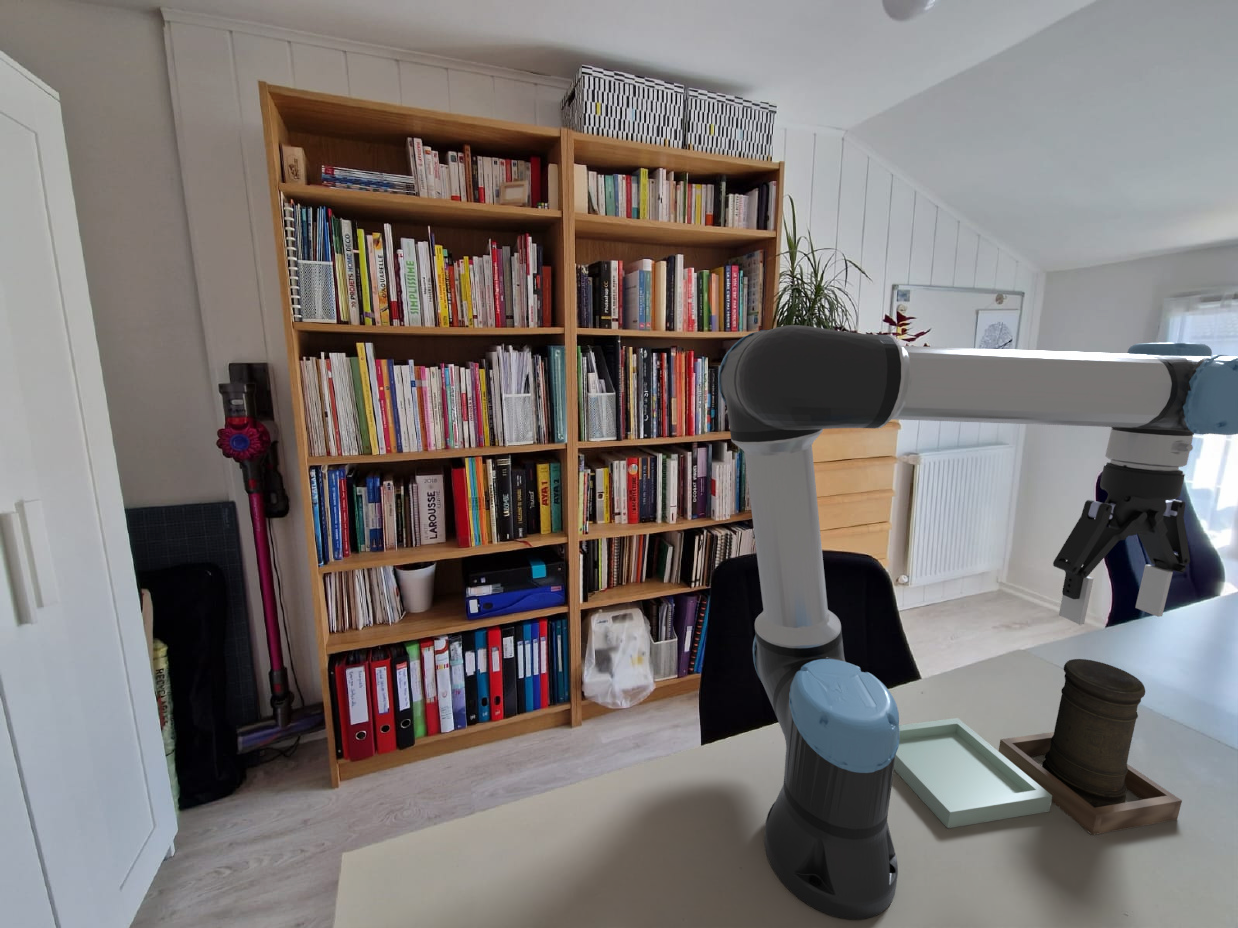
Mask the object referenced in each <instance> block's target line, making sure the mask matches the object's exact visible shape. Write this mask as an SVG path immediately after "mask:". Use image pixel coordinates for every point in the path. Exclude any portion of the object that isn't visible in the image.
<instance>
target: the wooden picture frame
mask: <svg viewBox="0 0 1238 928" xmlns="http://www.w3.org/2000/svg"><path fill="white" fill-rule="evenodd" d="M1053 735H1054V731H1053V732H1052V731H1051V732H1044V733H1038V734H1030V735H1021V736H1014V737H1007V738H1000V739H999V744H998V745H999V746H998V751H999V752H1000V753H1001V754H1002V755H1003V756H1005V757H1006V758H1007V759H1008V760H1010V761H1011V762H1012V763H1013V764H1014V765H1016V766H1017V767H1018V768H1019V769H1020V770H1022V771H1023V772H1024V773H1025V774H1027V775H1028V776H1029V777H1030V778H1031V779H1033V780H1034V781H1035V782H1036V783H1038V784H1039V785H1040V786H1041V787H1042V788H1044V789H1045V790H1046V791H1047V792H1048V793H1050V794H1051V795H1052V800H1051V803H1053V804H1054V805H1056V806H1057V807H1058V808H1059V809H1060V810H1061V811H1063V812H1064V813H1065V814H1066V815H1067V816H1069V817H1070V819H1072V820H1074V821H1075V822H1076V823H1077V824H1078V825H1080V826H1081V827H1082V828H1083V829H1084V830H1086V831H1087V832H1088V833H1089V834H1090V835H1092V836H1093V835H1098V834H1099V835H1100V834H1104V833H1109V832H1115V831H1120V830H1127V829H1131V828H1137V827H1143V826H1148V825H1154V824H1155V825H1156V824H1161V823H1166V822H1170V821H1176V820H1178V818H1179V814H1180V809H1181V806H1182V803H1183V800H1182V799H1181V798H1179V797H1178V796H1176V795H1175V794H1173V793H1172V792H1170V791H1169V790H1167V789H1165V788H1164V787H1162V786H1161V785H1160V784H1158V783H1157V782H1155V781H1154V780H1152V779H1151V778H1149V777H1148V776H1146V775H1145V774H1144V773H1142V772H1141V771H1138V770H1137V769H1135V768H1134V767H1133V766H1131V765H1129V764H1128V763H1127V767H1128V771H1127V773H1126V775H1125V780H1124V782H1125V785H1126V787H1127V791H1129V792H1130V793H1132V794H1133V795H1134V796H1136V797H1138V799H1139V800H1133V801H1126V802H1125V803H1120V804H1114V805H1108V806H1102V807H1096V808H1094V807H1093V806H1092V805H1090V804H1089V803H1088V802H1086V801H1085V800H1084V799H1083V798H1081V797H1080V796H1079V795H1078V794H1076V793H1075V792H1074V791H1072V790H1071V789H1070V788H1069V787H1067V786H1066V785H1065V784H1063V783H1062V782H1061V781H1060V780H1058V779H1057V778H1056V777H1055V776H1053V775H1052V774H1051V773H1049V772H1048V771H1047V770H1046V769H1044V768H1043V767H1042V765H1040V764H1039V763H1038V762H1037V761H1035V760H1034V759H1033V758H1034V757H1039V756H1045V754H1046V753H1047V752H1048V751H1049V750H1050V746H1051V738H1052V736H1053ZM1032 757H1033V758H1032Z"/></svg>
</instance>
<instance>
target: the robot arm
mask: <svg viewBox="0 0 1238 928" xmlns="http://www.w3.org/2000/svg"><path fill="white" fill-rule="evenodd" d="M717 375H718V376H717V377H718V378H717V379H718V382H717V383H718V384H717V385H718V390H719V393H720V395H721V399H722V401H724V404H725V405H726V408H727V417H728V426H729V432H730V439H731V440H730V441H731V442H732V443H733V444H735V446H737V447H738V448H740V449H741V450H742V451H743V452H744V460H745V467H746V468H745V469H746V476H747V477H746V478H747V484H748V494H749V500H750V508H751V509H750V510H751V516H752V525H753V534H754V541H755V549H756V558H757V559H756V560H757V567H758V575H759V582H760V583H759V584H760V592H761V601H762V608H763V610H762V611H761V613H760V614H758V616H757V617H756V618H755V621H754V630H755V631H754V632H755V635H754V638H753V643H752V658H753V664H754V665H753V666H754V668H755V671H756V674H757V676H758V678H759V680H760V681H761V683H762V685H763V687H764V691H765V693H766V695H767V697H768V699H769V702H770V704H771V706H772V709H773V711H774V714H775V716H776V718H777V721H778V723H779V726H780V728H781V731H782V733H783V735H784V739H785V745H786V746H785V759H784V772H783V785H782V786H781V789H780V791H779V793H778V795H777V797H776V799H775V801H774V803H773V804H772V805H771V806H770V809H769V811H768V812H767V815H766V820H765V825H764V840H763V842H764V850H765V854H766V857H767V860H768V862H769V864H770V866H771V869H772V870H773V872H774V873H775V875H776V877H778V879H779V881H780V882H781V883H782V884H783V885H784V886H785V887H786V888H787V890H789V892H791V894H793V895H794V896H796V897H797V898H798V899H799V900H800V901H802V902H803V903H804V904H806V905H808V906H810V907H812V908H813V909H815V910H817V911H819V912H821V913H824V914H827V915H829V916H832V917H835V918H840V919H845V920H864V919H865V920H866V919H869V918H872V917H876V916H878V915H879V914H881V913H882V912H884V911H886V910H887V908H888V907H889V906H890V905H891V904H892V902H893V899H894V898H895V894H896V889H897V883H898V873H899V870H898V868H899V866H898V859H897V855H896V850H895V847H894V843H893V839H892V835H891V834H892V833H891V832H890V828H889V824H888V816H889V809H890V808H889V807H890V799H891V793H892V785H893V780H894V772H895V770H894V765H895V758H896V752H897V750H898V747H899V740H900V736H899V733H900V729H899V725H900V715H899V714H900V713H899V709H898V705H897V702H896V699H895V698H894V697H893V695H892V693H891V691H890V690H889V689H888V688H887V686H886V684H884V683H883V682H882V681H881V680H880V679H878V678H877V677H876V676H875V675H874V674H872V673H870V672H868V671H865V672H864V671H862V669H861V667H860V666H858V665H855V664H853V663H850V662H847V661H846V659H845V653H844V643H843V641H844V640H843V634H842V633H843V631H842V624H841V621H840V619H839V617H838V616H837V615H836V614H835V613H834V612H832V611H831V610H829V609H828V598H827V589H826V578H825V569H824V560H823V559H824V558H823V557H824V556H823V546H822V537H821V526H820V516H819V506H818V495H817V483H816V476H815V475H816V474H815V463H814V454H813V444H814V442H815V441H816V440H817V438H818V437H819V436H820V435H821V434H822V433H823V432H824V430H826V429H829V430H830V429H880V428H883V427H885V426H886V425H887V424H889V422H891V420H901V421H902V420H903V421H904V420H905V421H928V422H929V421H931V422H953V423H954V422H960V423H985V424H986V423H987V424H989V423H990V424H991V423H992V424H1013V425H1014V424H1015V425H1042V426H1043V425H1044V426H1045V425H1046V426H1069V427H1070V426H1074V427H1076V426H1077V427H1103V428H1111V429H1110V434H1109V438H1108V444H1107V448H1106V451H1105V457H1106V459H1108V460H1110V461H1108V462H1106V463H1104V464H1103V469H1102V473H1101V479H1100V483H1099V486H1100V488H1101V490H1103V491H1106V493H1107V498H1106V499H1105V501H1104V502H1100V501H1096V500H1093V499H1087V500H1086V501H1085V502H1084V506H1083V509H1082V513H1081V515H1080V517H1079V518H1078V520H1077V522H1076V523H1075V525H1074V527H1073V528H1072V530H1071V532H1070V534H1069V535H1068V537H1067V538H1066V539H1065V542H1064V543H1063V545H1062V547H1061V548H1060V550H1059V552H1058V554H1057V556H1056V557H1055V559H1054V560H1053V562H1052V566H1053V567H1054V568H1057V569H1060V570H1062V571H1064V574H1065V576H1064V580H1063V581H1064V582H1063V585H1062V598H1061V600H1060V601H1061V603H1060V608H1059V610H1058V611H1059V612H1058V615H1059V616H1060V617H1062V618H1064V619H1067V620H1069V621H1071V622H1072V623H1075V624H1077V625H1085V622H1086V616H1087V613H1088V606H1089V602H1090V597H1091V593H1092V588H1093V585H1094V584H1093V583H1094V579H1095V578H1094V577H1091V576H1090V574H1091V573H1092V572H1093V571H1094V570H1095V569H1096V568H1097V567H1098V565H1099V564H1100V563H1101V562H1102V561H1103V559H1104V558H1105V557H1106V556H1107V555H1108V554H1109V553H1110V551H1111V550H1112V549H1113V548H1114V547H1115V546H1116V545H1117V543H1119V541H1125V540H1126V539H1128V537H1131V536H1136V535H1138V538H1139V539H1140V542H1141V543H1142V547H1143V548H1144V550H1145V552H1146V555H1147V556H1148V558H1149V561H1150V562H1151V564H1145V565H1144V569H1143V573H1142V576H1141V581H1140V585H1139V591H1138V594H1137V599H1136V603H1135V609H1138V610H1139V611H1142V612H1144V613H1145V612H1146V613H1148V614H1151V615H1153V616H1155V617H1158V618H1159V617H1163V615H1164V614H1163V613H1164V610H1165V606H1166V602H1167V598H1168V595H1169V594H1168V593H1169V591H1170V590H1169V589H1170V586H1171V581H1172V577H1173V572H1177V573H1180V574H1182V573H1184V572H1186V569H1187V566H1188V565H1189V564H1190V563H1191V557H1190V551H1189V543H1188V539H1187V531H1186V524H1185V518H1184V516H1185V510H1186V502H1185V501H1184V500H1179V499H1178V498H1180V496H1181V492H1182V488H1183V484H1184V481H1185V476H1186V473H1185V472H1184V471H1183V470H1182V469H1179V468H1182V467H1183V468H1184V467H1185V466H1187V465H1188V460H1189V456H1190V452H1191V451H1192V450H1193V449H1194V447H1193V445H1192V443H1193V439H1194V434H1195V435H1222V436H1233V435H1238V356H1231V355H1230V356H1229V355H1227V354H1214V355H1213V352H1212V349H1211V347H1210V346H1208V344H1205V343H1202V342H1201V343H1200V342H1144V343H1143V342H1142V343H1136V344H1135V343H1134V344H1132V345H1130V347H1129V348H1128V349H1127V353H1117V352H1116V353H1115V352H1114V353H1110V352H1084V351H1059V350H1058V351H1056V350H1055V351H1054V350H1032V349H1031V350H1030V349H1029V350H1028V349H1003V348H1001V349H999V348H979V347H977V348H974V347H973V348H972V347H947V346H923V345H922V346H920V345H919V346H917V345H901V344H900V342H898V340H897V338H895V337H894V336H892V335H889V334H870V333H858V332H850V331H849V332H848V331H843V330H842V331H841V330H835V329H829V328H823V327H817V326H808V325H798V324H791V325H789V324H788V325H782V326H779V327H774V328H771V329H761V330H758V331H753V332H751V333H749V334H747V335H745V336H743V337H742V338H740V339H739V340H737V341H736V342H735V343H734V344H733V345H732V346H731V347H730V348H729V350H728V351H727V352H726V354H725V355H724V356H723V358H722V361H721V363H720V366H719V370H718V374H717Z"/></svg>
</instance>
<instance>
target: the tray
mask: <svg viewBox="0 0 1238 928" xmlns="http://www.w3.org/2000/svg"><path fill="white" fill-rule="evenodd" d="M899 729H900V733H899V736H900V740H899V747H898V750H897V752H896V758H895V765H894V772H896V774H897V775H899V777H901V779H903V781H904V782H905V783H906V784H907V785H908V786H909V788H910V789H911V790H912V791H913V792H914V793H915V795H917V797H918V798H920V800H921V801H922V802H923V804H924V805H926V806H927V808H928V809H929V810H930V811H931V812H932V813H933V814H934V815H935V816H936V817H937V818H938V819H939V820H940V822H941V823H942V824H943V825H944V826H945V827H946V828H947V829H951V828H957V827H958V828H959V827H964V826H969V825H970V826H971V825H976V824H983V823H987V822H994V821H999V820H1007V819H1011V818H1017V817H1024V816H1029V815H1030V816H1031V815H1036V814H1041V813H1047V812H1050V810H1051V804H1052V801H1051V800H1052V795H1051V794H1050V793H1048V792H1047V791H1046V790H1045V789H1044V788H1042V787H1041V786H1040V785H1039V784H1038V783H1036V782H1035V781H1034V780H1033V779H1031V778H1030V777H1029V776H1028V775H1027V774H1025V773H1024V772H1023V771H1022V770H1020V769H1019V768H1018V767H1017V766H1016V765H1014V764H1013V763H1012V762H1011V761H1010V760H1008V759H1007V758H1006V757H1005V756H1003V755H1002V754H1001V753H1000V752H999V750H997V748H995V746H992V745H991V744H990V743H989V742H988V741H986V740H985V738H983V737H982V736H980V735H979V734H978V733H977V732H976V731H974V730H973V729H972V728H971V727H969V725H967V724H966V723H965V722H963V721H962V720H961V719H960V718H959V717H954V718H946V719H938V720H930V721H924V722H923V721H922V722H916V723H915V722H913V723H908V724H907V723H906V724H899Z"/></svg>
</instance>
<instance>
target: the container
mask: <svg viewBox="0 0 1238 928" xmlns="http://www.w3.org/2000/svg"><path fill="white" fill-rule="evenodd" d="M1063 671H1064V684H1063V685H1064V686H1063V687H1062V688H1061V696H1060V697H1061V698H1060V701H1059V706H1058V710H1057V717H1056V720H1055V726H1054V731H1053V732H1054V735H1053V736H1052V738H1051V746H1050V750H1049V751H1048V752H1047V753H1046V754H1045V755H1044V760H1043V762H1042V763H1041V766H1042V767H1043V768H1044V769H1046V770H1047V771H1048V772H1049V773H1051V774H1052V775H1053V776H1055V777H1056V778H1057V779H1058V780H1060V781H1061V782H1062V783H1063V784H1065V785H1066V786H1067V787H1069V788H1070V789H1071V790H1072V791H1074V792H1075V793H1076V794H1078V795H1079V796H1080V797H1081V798H1083V799H1084V800H1085V801H1086V802H1088V803H1089V804H1090V805H1092V806H1093V807H1094V808H1096V807H1102V806H1108V805H1114V804H1120V803H1126V802H1127V799H1126V798H1127V797H1126V793H1127V791H1128V789H1127V787H1126V785H1125V782H1124V780H1125V775H1126V773H1127V771H1128V767H1127V764H1128V759H1129V753H1130V749H1131V745H1132V740H1133V737H1134V731H1135V726H1136V722H1137V719H1138V718H1139V714H1138V712H1137V711H1138V706H1139V704H1140V703H1141V702H1142V698H1144V697H1145V694H1146V688H1145V686H1144V683H1143V682H1142V681H1141V680H1140V679H1139V678H1137V677H1136V676H1135V675H1133V674H1131V673H1129V672H1127V671H1126V670H1124V669H1121V668H1119V667H1116V666H1113V665H1111V664H1107V663H1104V662H1100V661H1096V660H1092V659H1085V658H1074V659H1069V660H1067V661H1066V662H1065V664H1064V666H1063Z"/></svg>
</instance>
